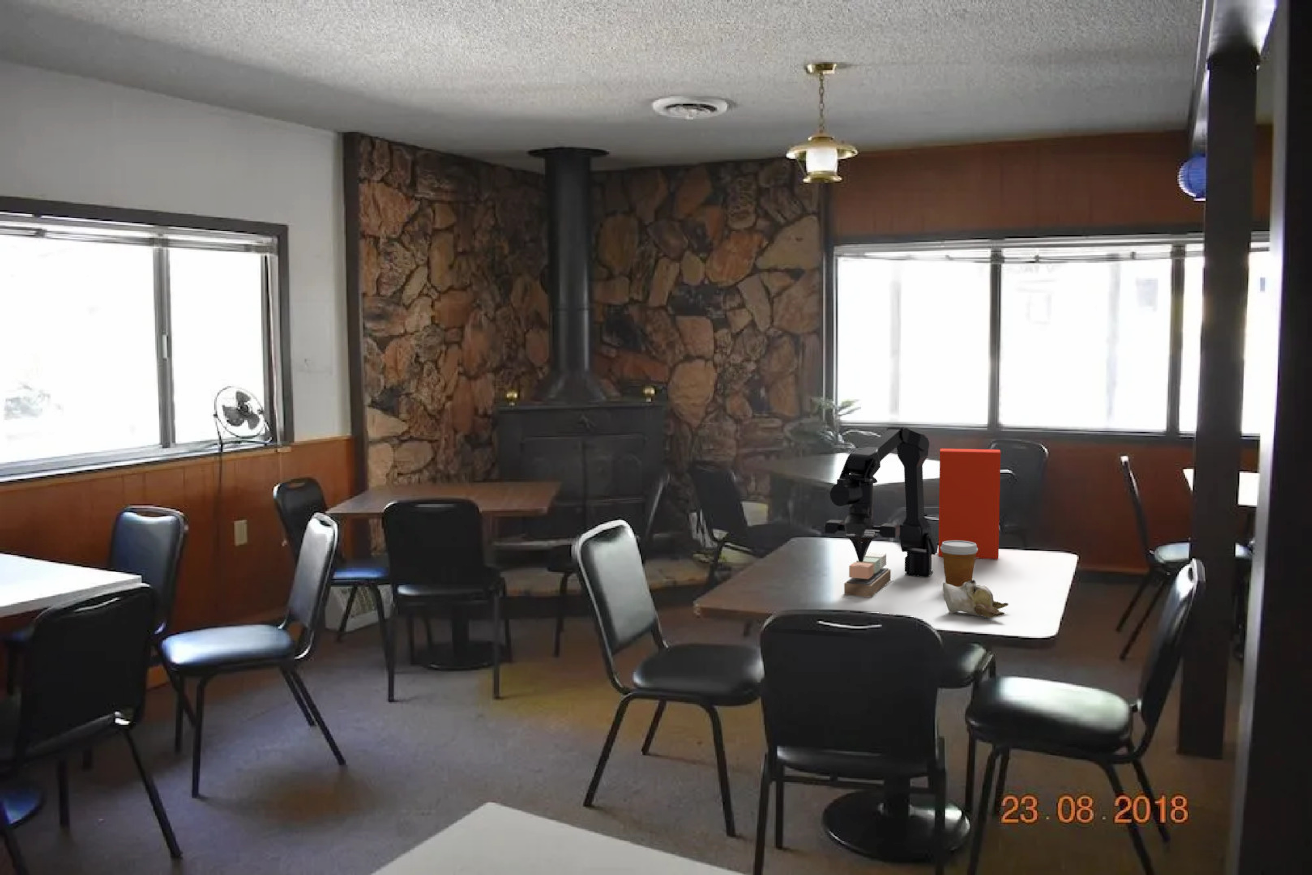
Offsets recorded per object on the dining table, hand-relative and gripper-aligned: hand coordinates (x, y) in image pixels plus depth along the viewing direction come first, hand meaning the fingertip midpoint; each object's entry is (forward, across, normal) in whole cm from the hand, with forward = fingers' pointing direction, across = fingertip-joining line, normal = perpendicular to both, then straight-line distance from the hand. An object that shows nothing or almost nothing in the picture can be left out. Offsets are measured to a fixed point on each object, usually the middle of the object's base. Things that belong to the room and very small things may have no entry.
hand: (861, 561), depth 278 cm
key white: (+4, 0, +14) cm, 15 cm away
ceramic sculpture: (+9, +30, -11) cm, 33 cm away
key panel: (+8, 0, +7) cm, 11 cm away
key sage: (+4, 0, +7) cm, 8 cm away
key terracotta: (+4, 0, 0) cm, 4 cm away
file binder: (+8, +17, +60) cm, 63 cm away
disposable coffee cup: (+8, +22, +15) cm, 28 cm away
